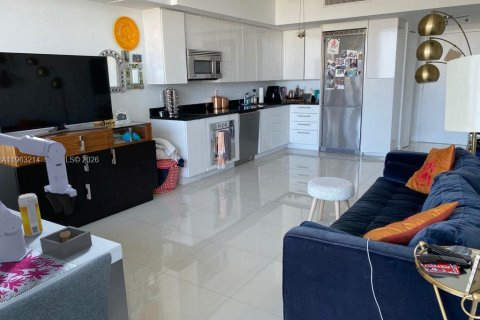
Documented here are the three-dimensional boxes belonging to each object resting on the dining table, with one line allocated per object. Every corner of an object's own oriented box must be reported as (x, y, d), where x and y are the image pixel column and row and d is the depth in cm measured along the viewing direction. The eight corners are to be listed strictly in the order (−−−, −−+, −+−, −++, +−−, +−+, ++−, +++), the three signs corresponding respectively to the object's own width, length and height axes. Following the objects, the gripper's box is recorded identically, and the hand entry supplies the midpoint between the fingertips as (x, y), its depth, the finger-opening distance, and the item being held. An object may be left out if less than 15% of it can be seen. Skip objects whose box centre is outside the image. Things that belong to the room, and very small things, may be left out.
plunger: (48, 249, 122) (46, 235, 121) (69, 239, 129) (67, 226, 128) (64, 254, 118) (62, 240, 117) (85, 243, 125) (83, 230, 124)
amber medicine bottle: (39, 228, 141) (32, 191, 138) (46, 232, 138) (39, 194, 134) (22, 234, 137) (14, 196, 133) (28, 238, 133) (21, 199, 130)
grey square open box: (42, 252, 122) (39, 238, 121) (71, 238, 131) (69, 226, 130) (63, 259, 117) (61, 244, 115) (92, 244, 126) (90, 231, 125)
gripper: (81, 174, 126) (87, 211, 129) (54, 170, 133) (60, 206, 136) (63, 180, 120) (69, 219, 123) (36, 176, 127) (42, 212, 130)
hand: (63, 212), depth 129 cm, fingers open, 5 cm apart
